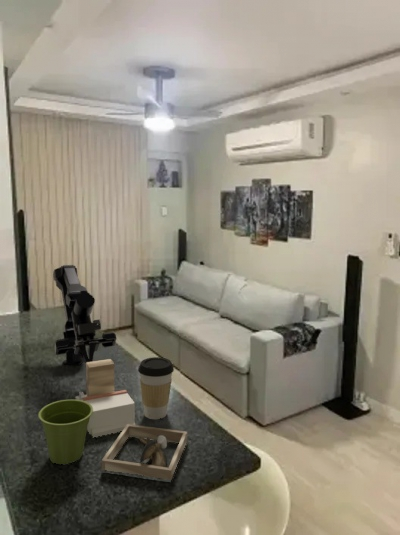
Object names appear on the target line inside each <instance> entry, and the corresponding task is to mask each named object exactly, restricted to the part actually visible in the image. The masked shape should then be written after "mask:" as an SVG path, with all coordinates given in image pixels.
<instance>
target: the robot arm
mask: <svg viewBox="0 0 400 535" xmlns="http://www.w3.org/2000/svg"><path fill="white" fill-rule="evenodd" d="M52 273H53V274H52V276H53V281H55V285H56V287H57V288H58V289H59V290H60V291H61V296H62V302H63V310H64V315H65V320H66V321H65V324H64V325H63V326H64V327H63V331H62V333H61V338H60V339H56V341H55V342H54V352H55V355H57V356H59V355H65V360H63V361H62V364H65V365H73V366H79V365H81V364H82V363H85V364H84V365H86V362H93V361H94V354H95V352H98V351H99V346H100V345H101V346H102V347H103V348H109V347H111V348H112V347H113V346H115V345H116V341H117V334H116V333H115V332H114V331H109V332H104V333H102V334H101V335H102V336H101V337H96V333H97V332H96V331H100V330H101V329H102V326H101V320H100V319H94V320H93V321H92V319H91V313H92V311H93V309H94V305H95V303H96V299H95V297H94V296H93V295H92V294H91V293H90V292H89V291H88V289H87V287H86V286H83V285H82V284H81V281H80V279H79V277H78V276H79V275H78V274H79V273H78V268H77V267H76V265H74V264H69V265H68V264H67V265H66V264H62V265H61V266H60V267H57V268H55V269H54V270H53V272H52ZM87 346H88V351H87Z"/></svg>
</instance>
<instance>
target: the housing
mask: <svg viewBox="0 0 400 535" xmlns="http://www.w3.org/2000/svg"><path fill="white" fill-rule="evenodd" d="M75 400H81V401H85V402H87V403H89V404H90V405H91V406H92V407H93V413H92V414H91V416H90V419H89V423H88V425H87V432H89V433H88V434H89V435H91V437H92V436H93V437H92V438H93V439H94V437H96V438H99V437H98V436H100V437H103V436H102V435H105V436H108V435H107V434H109V435H112V434H111V433H113V434H117V432H118V433H121V432H120V431H123V429H124V428H125V426H126V425H127V424H131V425H136V422H135V421H136V420H135V414H136V411H135V410H136V408H135V407H136V404H135V401H134V400H133V398H131V396H130V394H129V393H128V391H127V389H122V390H118V391H117V390H116V391H115V390H114V392H111V393H105V394H100V395H94V396H89V397H87V393H86V394H84V392H83V391H79V392H78V395H77V396H75Z"/></svg>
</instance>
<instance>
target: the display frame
mask: <svg viewBox="0 0 400 535" xmlns="http://www.w3.org/2000/svg"><path fill="white" fill-rule="evenodd" d="M160 435H162V436H165V437H166V440H167V441H170V442H179V444H178V445H177V447H176V449H175V451H174V453H173V456H172V459H171V461H170V464H169V465H168V466H167V467H160V466H153V465H152V464H148V463H147V464H143V463H137V462H132V461H127V460H126V461H124V460H119V459H114V457H115V456H116V454H117V453H118V451H119V450H120V448H121V447H122V446H123V444H124V443H125V441H126V440H127V439H128V440H129V438H130V437H129V436H133V437H139V436H140V437H141V438H148V437H149V439H155V438H157V439H156V440H158V436H160ZM128 437H129V438H128ZM128 440H127V441H128ZM127 441H126V442H127ZM186 443H187V444H188V431H184V430H183V431H182V430H178V429H177V430H176V429H170V428H169V429H167V428H162V427H161V428H160V427H152V426H147V425H146V426H145V425H138V424H135V425H131V424H127V425H126V426H125V428H124V429H123V431H122V432H120V434H119V435H118V436H117V438H116V439H115V441H114V442H113V444H112V445H111V446H110V448H109V449H108V450H107V452H106V453H105V455H104V456H103V458H102V459H101V471H102V470H107V471H114V472H122V473H129V474H138V475H142V476H143V475H144V476H150V477H155V478H162V479H167V480H171V479H172V476H173V474H174V472H175V469H176V467H177V464H178V462H179V460H180V457H181V455H182V452H183V450H184V451H185V449H186V447H185V445H186V446H187V444H186ZM125 444H126V443H125ZM125 444H124V445H125ZM123 447H124V446H123ZM123 447H122V448H123ZM184 448H185V449H184ZM120 451H121V450H120ZM183 453H184V452H183ZM118 454H119V453H118ZM182 456H183V455H182ZM116 457H117V456H116ZM181 458H182V457H181ZM113 459H114V460H113ZM180 461H181V460H180ZM179 463H180V462H179ZM177 468H178V467H177ZM175 473H176V472H175Z"/></svg>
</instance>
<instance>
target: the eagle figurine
mask: <svg viewBox="0 0 400 535" xmlns="http://www.w3.org/2000/svg"><path fill="white" fill-rule="evenodd" d="M138 439H139V441H140V442H141V443H143V444H144V445H145V446H144V447H143V449H142V451H141V455H140V459H139V462H140V464H142V462H143V463H144V462H145V463H146V462H148V463H149V462H150V460H152V461H151V465H153V466H160V467H167V468H168V456H167V454H166V453H165V452H164V450H163V449H166V448H167V446H168V442H167V440H166V437H165V436H162V435H160V436H158V440H157V441H156V439H157V438H155V439H154V440H150V439H149V437H148V438H147V439H142V438H141V437H140V436H139V438H138Z"/></svg>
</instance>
